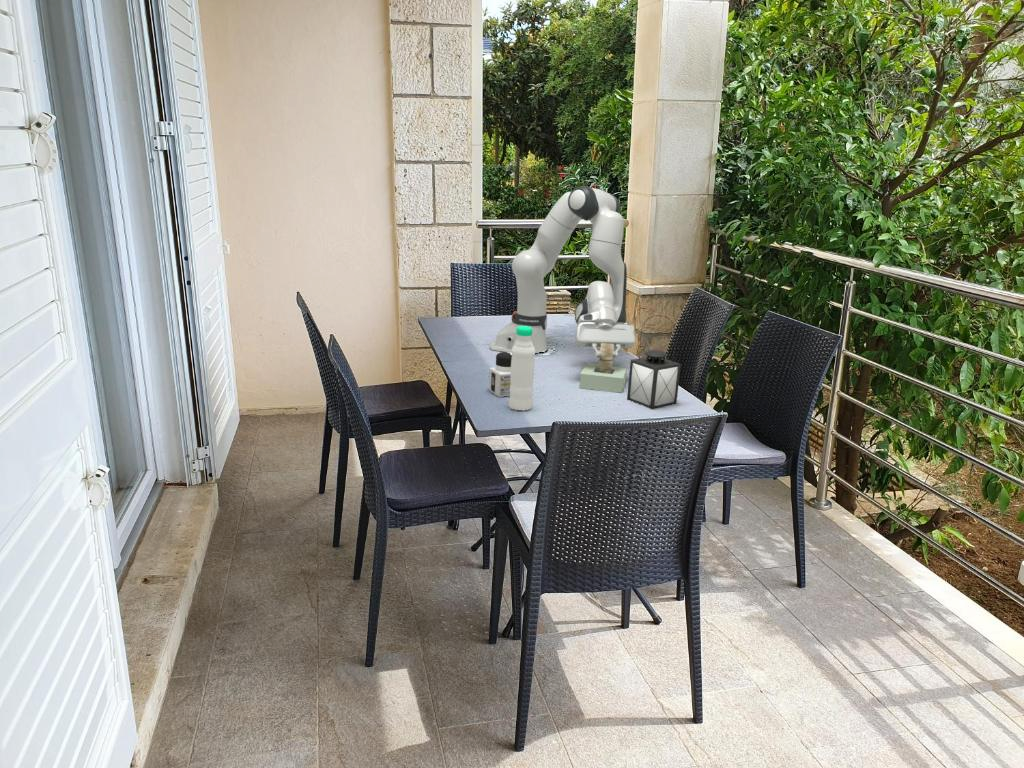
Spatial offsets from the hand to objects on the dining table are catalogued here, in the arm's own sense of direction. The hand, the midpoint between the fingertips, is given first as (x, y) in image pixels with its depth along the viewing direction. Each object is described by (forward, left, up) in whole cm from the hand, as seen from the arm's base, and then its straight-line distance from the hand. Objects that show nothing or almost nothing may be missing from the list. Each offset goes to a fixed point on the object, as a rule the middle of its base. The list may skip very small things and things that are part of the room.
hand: (606, 356), depth 266 cm
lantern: (+16, -12, -10) cm, 23 cm away
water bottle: (-21, -33, -10) cm, 41 cm away
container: (-29, -20, -10) cm, 37 cm away
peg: (0, 0, -6) cm, 6 cm away
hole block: (-1, +1, -10) cm, 10 cm away
